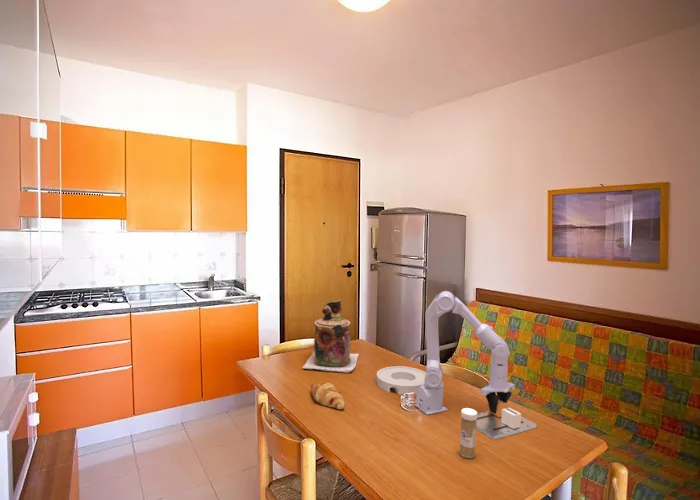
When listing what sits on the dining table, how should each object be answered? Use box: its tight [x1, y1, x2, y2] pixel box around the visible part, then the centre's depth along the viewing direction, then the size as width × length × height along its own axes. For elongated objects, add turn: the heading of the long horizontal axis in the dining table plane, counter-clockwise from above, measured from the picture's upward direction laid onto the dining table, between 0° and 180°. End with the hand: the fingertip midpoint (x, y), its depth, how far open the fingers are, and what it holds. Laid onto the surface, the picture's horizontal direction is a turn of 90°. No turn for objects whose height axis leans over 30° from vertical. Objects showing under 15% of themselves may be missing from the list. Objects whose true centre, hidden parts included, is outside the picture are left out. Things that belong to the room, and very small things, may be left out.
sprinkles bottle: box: [458, 407, 478, 460], centre depth 116 cm, size 5×5×14 cm
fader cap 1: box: [487, 400, 507, 417], centre depth 141 cm, size 4×5×5 cm
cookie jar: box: [302, 299, 360, 374], centre depth 192 cm, size 25×25×32 cm
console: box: [476, 410, 537, 441], centre depth 136 cm, size 20×15×1 cm
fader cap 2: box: [501, 407, 522, 429], centre depth 133 cm, size 4×5×5 cm
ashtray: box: [376, 365, 426, 396], centre depth 170 cm, size 23×23×4 cm
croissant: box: [310, 381, 346, 410], centre depth 151 cm, size 21×10×8 cm, turn 39°
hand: (496, 411), depth 141 cm, fingers closed on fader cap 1, 3 cm apart
